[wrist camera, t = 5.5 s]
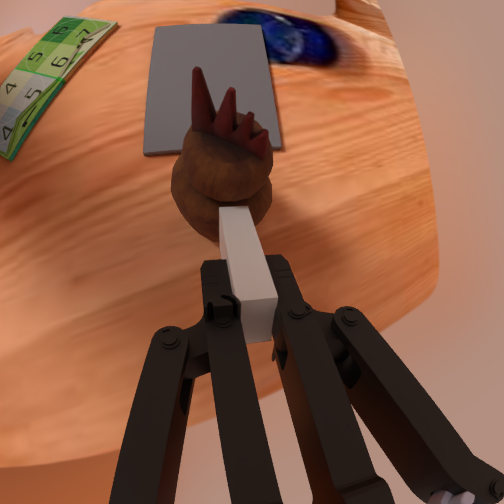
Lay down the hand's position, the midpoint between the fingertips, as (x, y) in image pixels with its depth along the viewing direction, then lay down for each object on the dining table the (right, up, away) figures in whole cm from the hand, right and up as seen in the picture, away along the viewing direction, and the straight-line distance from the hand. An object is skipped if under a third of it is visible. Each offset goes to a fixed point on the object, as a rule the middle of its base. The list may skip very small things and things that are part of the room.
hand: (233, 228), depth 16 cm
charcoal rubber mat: (-3, +16, +10) cm, 19 cm away
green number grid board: (-24, +19, +7) cm, 31 cm away
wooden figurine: (-2, +2, +8) cm, 9 cm away
